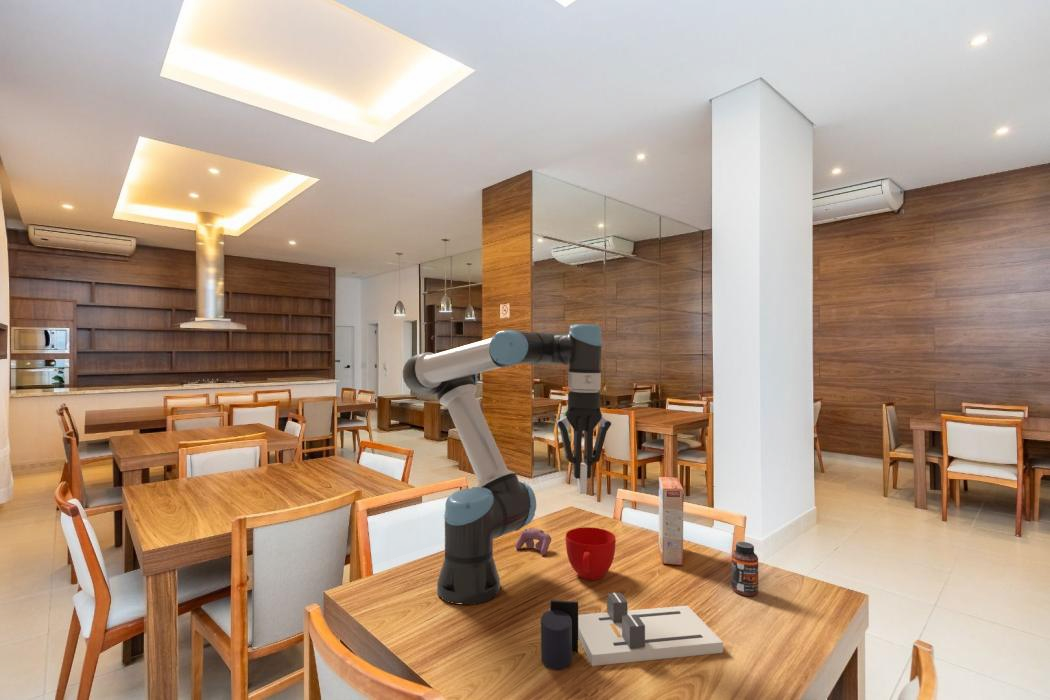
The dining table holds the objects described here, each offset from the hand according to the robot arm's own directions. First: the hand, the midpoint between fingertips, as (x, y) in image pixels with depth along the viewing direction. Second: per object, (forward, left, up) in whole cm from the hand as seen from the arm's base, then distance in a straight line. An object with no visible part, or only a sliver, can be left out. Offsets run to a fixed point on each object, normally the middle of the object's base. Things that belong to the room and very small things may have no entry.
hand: (581, 491), depth 114 cm
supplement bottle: (+40, -1, -25) cm, 48 cm away
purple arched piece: (-6, +31, -26) cm, 41 cm away
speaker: (-10, -21, -25) cm, 35 cm away
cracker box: (+32, +22, -25) cm, 46 cm away
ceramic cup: (+5, +12, -25) cm, 28 cm away
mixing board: (+8, -16, -25) cm, 31 cm away
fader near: (+4, -21, -23) cm, 31 cm away
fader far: (+4, -12, -23) cm, 26 cm away
